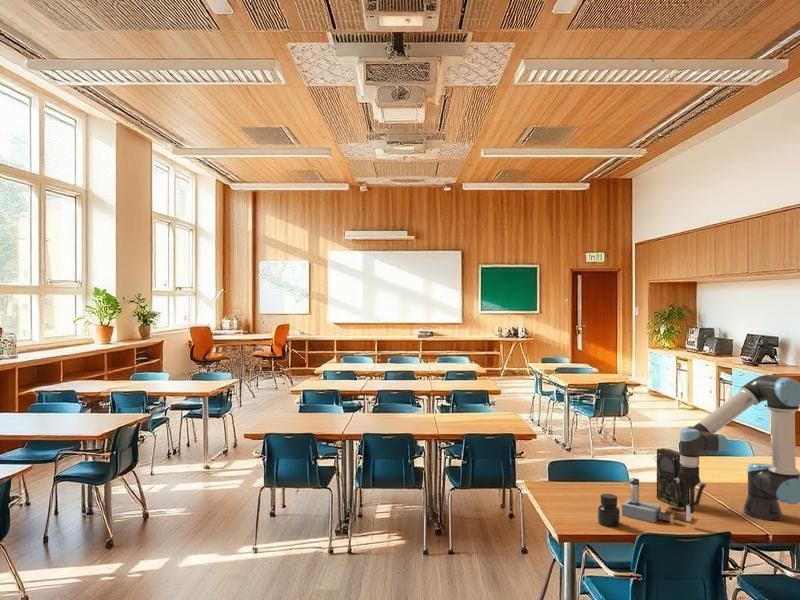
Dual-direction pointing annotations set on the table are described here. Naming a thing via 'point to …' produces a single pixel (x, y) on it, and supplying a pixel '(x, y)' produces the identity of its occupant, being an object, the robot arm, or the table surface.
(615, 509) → the ink bottle
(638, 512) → the socket block
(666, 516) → the drift key
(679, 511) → the rack
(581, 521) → the table surface
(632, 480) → the drill peg
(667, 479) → the black hard drive
